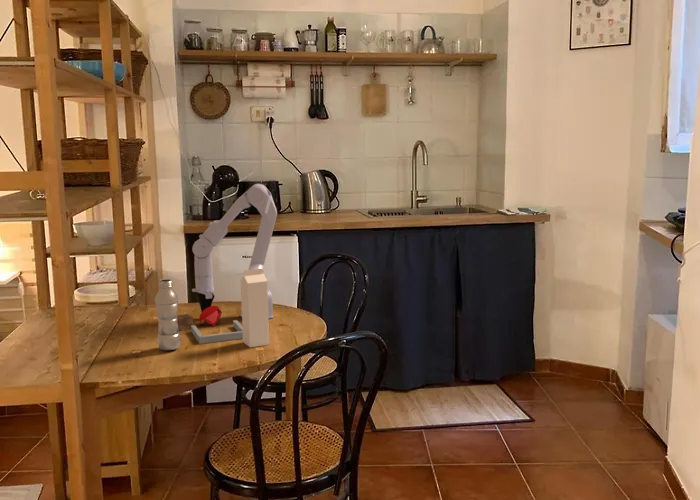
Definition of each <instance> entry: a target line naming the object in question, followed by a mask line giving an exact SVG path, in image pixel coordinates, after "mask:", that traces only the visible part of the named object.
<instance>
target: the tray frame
mask: <svg viewBox="0 0 700 500" xmlns="http://www.w3.org/2000/svg"><path fill="white" fill-rule="evenodd" d="M232 325H233V326H232V327H233V328H234V329H235V330H236V331H231V332H230V331H229V332H222V333H215V334H206V335H203V334H202V333H201V331H200V330H199V329H198V327H197V325H195V324H193V325H191V329H190V332H191V333H192V334H193V337H194V338H195V340H196V341H197V342H198V344H199V345H203V344H211V343H218V342H227V341H233V340H234V341H235V340H243V327H242V323H241V322H239V321H238V320H237V319H235V320H232Z"/></svg>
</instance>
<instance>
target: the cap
mask: <svg viewBox="0 0 700 500" xmlns="http://www.w3.org/2000/svg"><path fill="white" fill-rule="evenodd" d="M222 314H223V312H222V310H221V308H220V306H217V305H211V306H210V307H208V308H206V309H205V310H203V311H202V312H200V314H199V317H198V319H199V322H198V325H199V326H200V325H201V324H202V321H204V322H206V323H207V324H211V326H212V327H215V326H216V325H217V323H218V321H219V319H220V317H221V315H222Z"/></svg>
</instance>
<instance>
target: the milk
mask: <svg viewBox="0 0 700 500" xmlns="http://www.w3.org/2000/svg"><path fill="white" fill-rule="evenodd" d="M268 290H269V289H268V279H267V278H266V275H265V273H264V268H263V269H253V270H248V269H246V270H243V276H242V277H241V279H240V295H241V296H240V297H241V299H240V300H241V314H242V317H241V319H242V320H241V325H242V327H243V339H242V342H243V343H244V344H245V345H246V346H248V347H249V348H255V347H261V346H269V345H270V329H269V328H270V327H269V326H270V325H269V322H270V321H269V319H270V318H268Z"/></svg>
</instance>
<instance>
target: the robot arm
mask: <svg viewBox="0 0 700 500" xmlns="http://www.w3.org/2000/svg"><path fill="white" fill-rule="evenodd" d="M275 204H276V203H275V202H274V198H273V196H272V192H270V190H269V189H268V188H267V186H266V185H264V184H262V183H255V184H253V185H252V186H250V187H249V188H248V189H247V190H246V191H245V192H244V193H243V194H241V196H239V197H237V199H235V201H234V202H233V204H232V205H231V207H229V209H228V210H227V211H226V212H225V213H224V215H223V216H222V218H220V219H219V220H218V219H216V220H214V221H213V222H212V221H210V222H209V223H208V224H207V228H206V230H205V231H204V232H203V233H202V234H201V233H200V234H199V235H198V238H199V239H197V240H196V241H194V243H193V244H192V247H191V248H192V253H193V254H194V262H193V263H194V280H195V281H194V282H195V288H192V289H191V291H192V293H196V294H195V297H196V299H197V301H198V303H199V307H200V313H202V311H203V310H205V309H206V308H208V307H210V306H212V304H213V301H214V300H215V294H214V290H215V287H214V274H213V273H214V271H213V260H212V252H213V250H214V247H217V246H218V244H219V243H220V242H221V241H222V240H223V239H224V238H225V236H226V235H227V234H228V233H229V230H228V229H229V228H228V227H229V225H230V224H231V223H232V222H233V221H234V219H236V217H237V216H238V215H239V214H240V213H241V212H242V211H243V210H244V209H248V208H250V207H252V206H253V207H254V208H256V209H257V211H258V213H259V214H260V215H261V220H260V223H259V227H258V232H257V235H256V239H255V244H254V247H253V251H252V255H251V259H250V262H249V266H248V269H247V270H253V269H263V270H264V268H265V263H266V259H267V255H268V251H269V247H270V244H271V243H270V242H271V239H272V236H273V231H274V229H275V228H274V227H275V224H276V220H277V215H278V210H277V207H276V205H275ZM273 306H274V305H273V295H272V292H271V290H270V289H268V319H273V318H274V312H273V310H274V309H273ZM239 316H240V317H241V318H242V313H240V314H239Z"/></svg>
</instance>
